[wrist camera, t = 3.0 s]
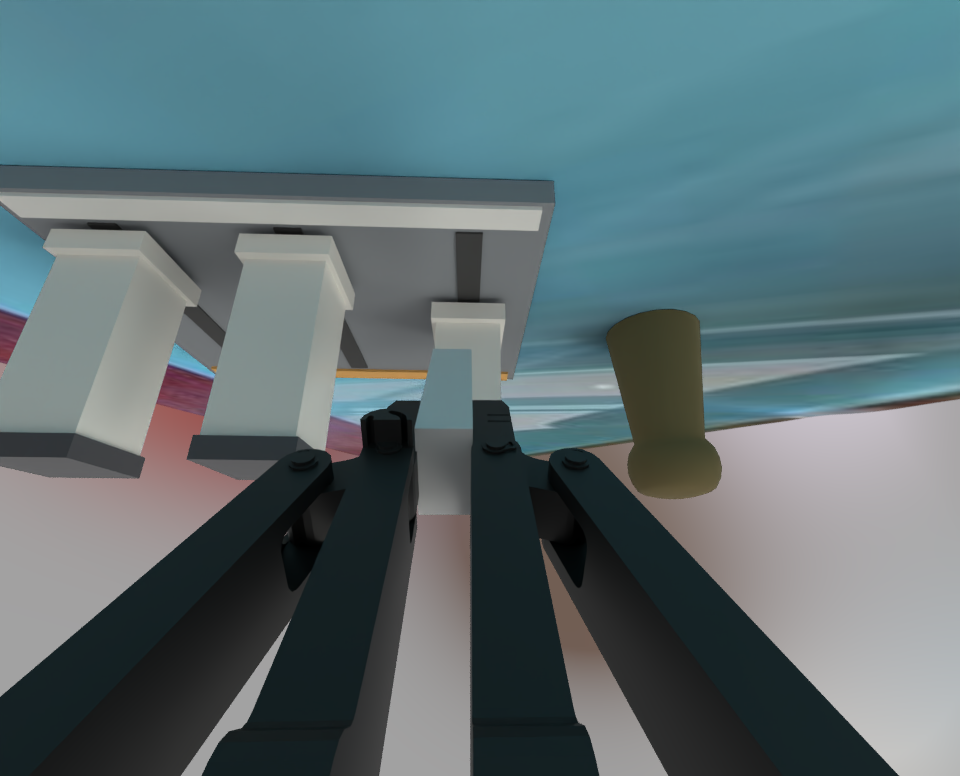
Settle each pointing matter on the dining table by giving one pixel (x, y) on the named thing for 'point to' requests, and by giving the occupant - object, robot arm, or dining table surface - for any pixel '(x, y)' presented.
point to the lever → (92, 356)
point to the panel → (327, 212)
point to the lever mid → (276, 355)
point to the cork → (664, 403)
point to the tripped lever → (473, 340)
